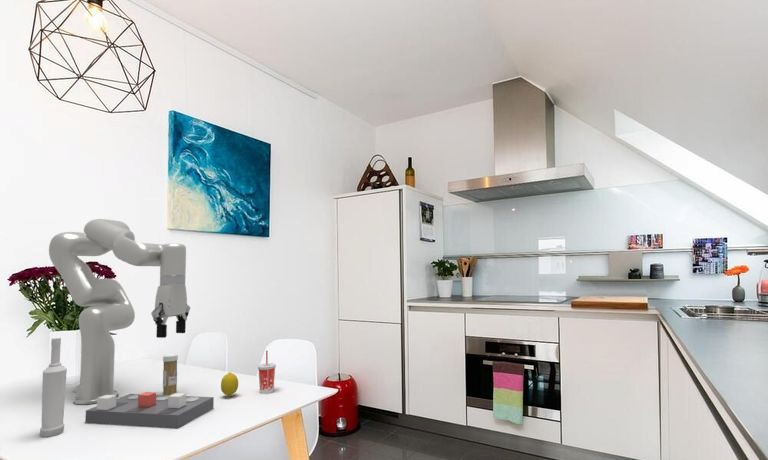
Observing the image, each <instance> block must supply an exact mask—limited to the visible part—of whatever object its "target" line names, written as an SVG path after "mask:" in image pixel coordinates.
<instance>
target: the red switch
mask: <svg viewBox="0 0 768 460" xmlns="http://www.w3.org/2000/svg"><path fill="white" fill-rule="evenodd" d="M139 394H140V395H138V406H140V407H149V406H152V405H154V404H156V395H157V391H153V392H151V391H145V392H143V393H139Z"/></svg>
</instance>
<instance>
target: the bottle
mask: <svg viewBox="0 0 768 460" xmlns="http://www.w3.org/2000/svg"><path fill="white" fill-rule="evenodd" d="M61 344H62V337H54V338H51V348H50V349H51V350H50V351H51V352H50V363H49V364H48V367H46V369H44V370H43V371H42V387H41V388H42V391H41V392H42V394H41V398H42V399H41V427H40V429H39V435H40V437H41V438H50V437H55V436H58V435H60V434H62V433H64V430H65V423H64V415H65V400H66V397H65V396H66V388H67V387H66V384H67V373H68V372H67V370H68V369H67V368H66V367H65V366H63V365H62V362H61Z"/></svg>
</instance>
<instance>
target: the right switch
mask: <svg viewBox="0 0 768 460" xmlns="http://www.w3.org/2000/svg"><path fill="white" fill-rule="evenodd" d="M186 396H187V393H185V392H184V393H183V392H181V393H180V392H179V393H178V392H177V393H175V394H172V395H170V396H168V408H181V407H183V406H185V405H186Z"/></svg>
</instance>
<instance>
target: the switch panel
mask: <svg viewBox="0 0 768 460" xmlns="http://www.w3.org/2000/svg"><path fill="white" fill-rule="evenodd" d="M140 394H141V393H128V394H125V395H123V396H121V397H118V398H116V407H114V408H111V409H109V410H97V405H96V406H94V407H91V408H89V409H86V410H85V421H84V423H85V424H92V425H93V424H96V425H113V426H130V427H144V428H145V427H147V428H160V429H161V428H162V429H180V428H182V427H183V426H185V425H187V424H189V423H191V422H192V421H194V420H196V419H198V418H200V417H201V416H203V415H205V414H207V413H208V412H210V411H212V410H214V406H215V405H214V402H215V401H214V396H194V395H186V405H185V406H183V407H181V408H168V396H170V395H163V394H156V404H154V405H152V406H149V407H140V406H138V395H140Z"/></svg>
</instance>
